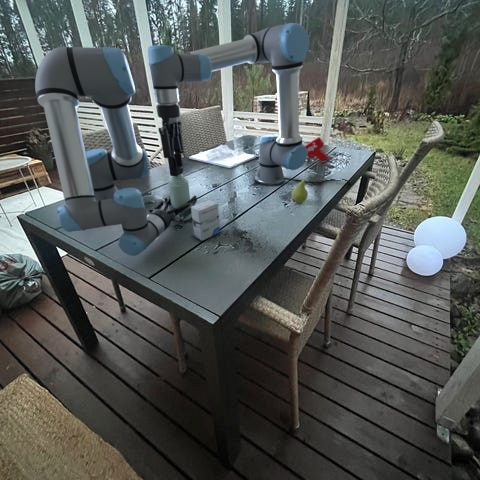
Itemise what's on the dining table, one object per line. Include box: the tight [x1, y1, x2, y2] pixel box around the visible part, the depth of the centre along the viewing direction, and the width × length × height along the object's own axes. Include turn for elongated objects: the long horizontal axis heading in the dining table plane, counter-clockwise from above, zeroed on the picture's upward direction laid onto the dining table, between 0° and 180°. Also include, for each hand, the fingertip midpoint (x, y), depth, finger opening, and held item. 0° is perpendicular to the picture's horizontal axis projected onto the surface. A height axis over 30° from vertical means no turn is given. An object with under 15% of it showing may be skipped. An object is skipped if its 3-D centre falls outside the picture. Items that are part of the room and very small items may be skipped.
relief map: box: [188, 143, 257, 169], centre depth 179 cm, size 27×35×5 cm
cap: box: [177, 166, 184, 175], centre depth 100 cm, size 4×4×2 cm
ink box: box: [191, 199, 221, 241], centre depth 95 cm, size 8×5×12 cm, turn 134°
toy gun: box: [304, 136, 329, 164], centre depth 170 cm, size 18×4×15 cm
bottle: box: [167, 174, 192, 222], centre depth 105 cm, size 8×8×20 cm
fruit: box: [291, 174, 311, 204], centre depth 118 cm, size 7×8×12 cm
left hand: (186, 197), depth 111 cm, fingers closed on bottle, 8 cm apart
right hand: (177, 173), depth 101 cm, fingers open, 4 cm apart
